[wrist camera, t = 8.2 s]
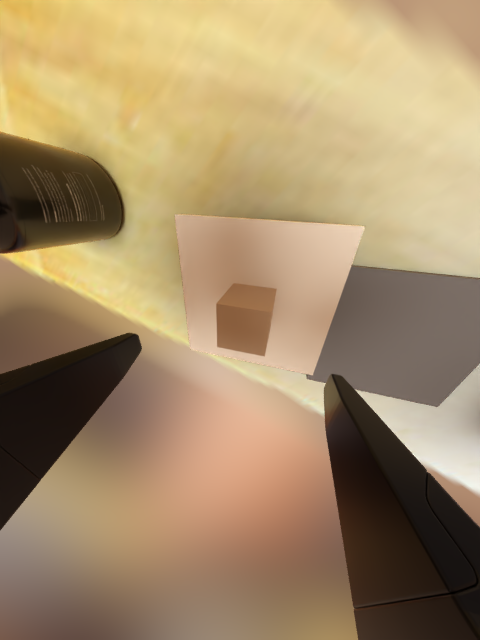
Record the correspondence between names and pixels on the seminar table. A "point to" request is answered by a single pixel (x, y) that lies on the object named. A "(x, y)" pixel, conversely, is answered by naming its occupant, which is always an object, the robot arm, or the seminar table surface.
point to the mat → (403, 334)
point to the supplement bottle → (52, 197)
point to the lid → (263, 286)
